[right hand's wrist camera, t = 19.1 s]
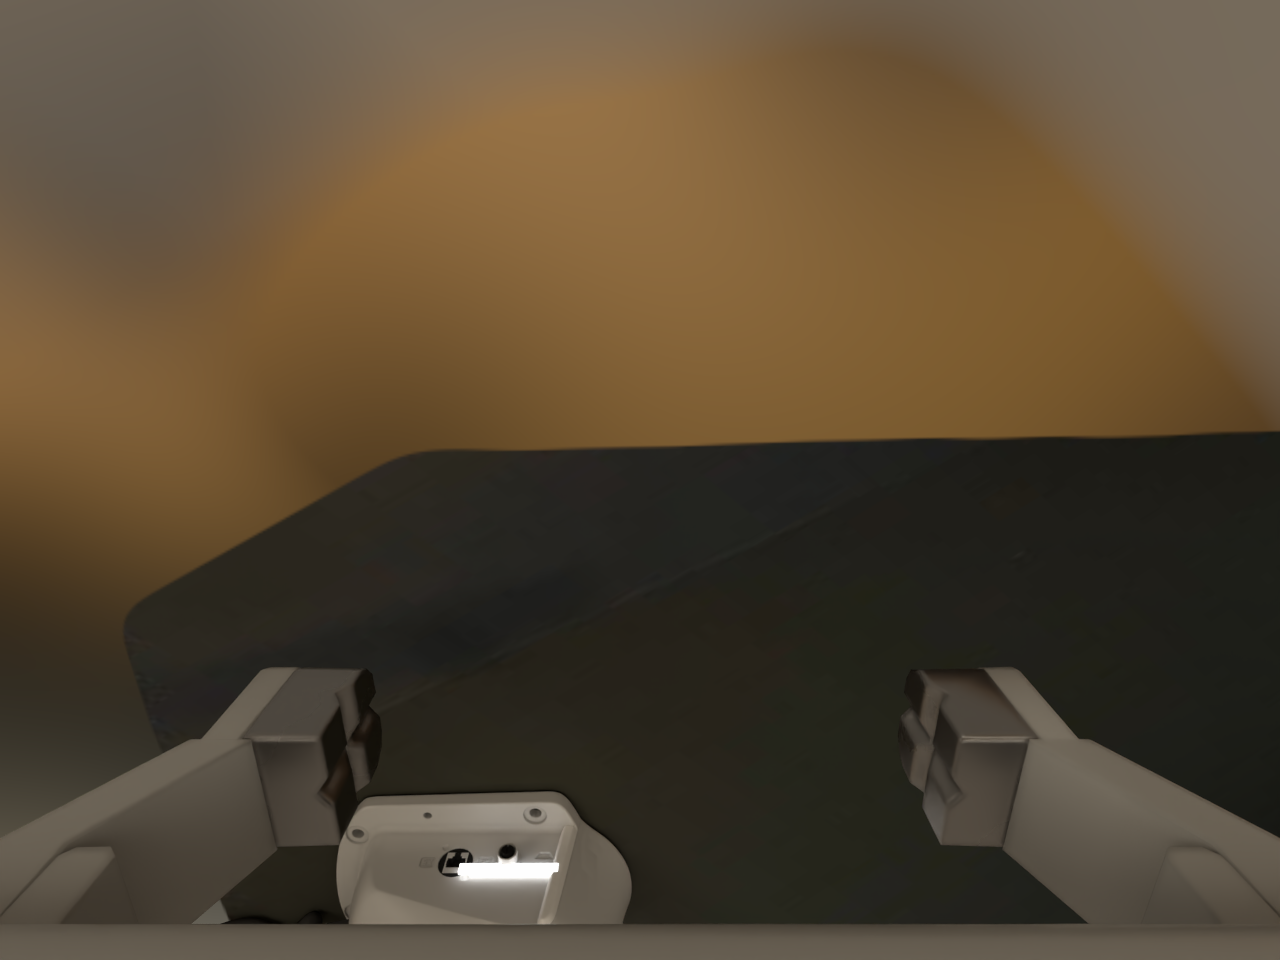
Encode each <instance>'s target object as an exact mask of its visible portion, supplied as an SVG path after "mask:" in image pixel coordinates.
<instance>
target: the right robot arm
mask: <svg viewBox="0 0 1280 960" xmlns="http://www.w3.org/2000/svg"><path fill="white" fill-rule="evenodd" d="M375 693H376V691H375V686H374V681H373V676H372V673H371V672H369V671H368V670H367V669H354V668H308V667H303V668H298V667H269V668H267V669H264V670H261V671H260V672H259V673H258V674H257V675H256V677H255V678H254V679H253V680H252V681H251V682H250V683H249V685H248V686H247V687H246V688H245V689H244V690H243V692H242V693H241V694H240V695H239V696H238V697H237V699H236V700H235V701H234V702H233V703H232V704H231V705H230V707H229V708H228V709H227V710H226V711H225V712H224V714H223V715H222V716H221V717H220V718H219V719H218V720H217V722H216V723H215V724H214V725H213V726H212V727H211V729H210V730H209V731H208V732H207V733H206V734H205V736H204V737H203V738H202V739H190V740H188V741H186V742H184V743H182V744H180V745H178V746H177V747H175V748H173V749H171V750H169V751H167V752H165V753H163V754H161V755H159V756H157V757H155V758H153V759H151V760H150V761H148V762H146V763H144V764H142V765H140V766H138V767H136V768H134V769H132V770H130V771H128V772H126V773H124V774H123V775H121V776H119V777H117V778H115V779H113V780H111V781H109V782H107V783H105V784H103V785H101V786H99V787H97V788H96V789H94V790H92V791H90V792H88V793H86V794H84V795H82V796H80V797H78V798H76V799H74V800H72V801H70V802H69V803H67V804H65V805H63V806H61V807H59V808H57V809H55V810H53V811H51V812H49V813H47V814H45V815H43V816H42V817H40V818H38V819H36V820H34V821H32V822H30V823H28V824H26V825H24V826H22V827H20V828H18V829H16V830H14V831H13V832H11V833H9V834H7V835H5V836H3V837H1V838H0V960H1280V838H1279V837H1277V836H1275V835H1273V834H1271V833H1269V832H1267V831H1265V830H1263V829H1261V828H1259V827H1257V826H1255V825H1254V824H1252V823H1250V822H1248V821H1246V820H1244V819H1242V818H1240V817H1238V816H1236V815H1234V814H1232V813H1230V812H1228V811H1227V810H1225V809H1223V808H1221V807H1219V806H1217V805H1215V804H1213V803H1211V802H1209V801H1207V800H1205V799H1203V798H1202V797H1200V796H1198V795H1196V794H1194V793H1192V792H1190V791H1188V790H1186V789H1184V788H1182V787H1180V786H1178V785H1177V784H1175V783H1173V782H1171V781H1169V780H1167V779H1165V778H1163V777H1161V776H1159V775H1157V774H1155V773H1153V772H1152V771H1150V770H1148V769H1146V768H1144V767H1142V766H1140V765H1138V764H1136V763H1134V762H1132V761H1130V760H1128V759H1126V758H1125V757H1123V756H1121V755H1119V754H1117V753H1115V752H1113V751H1111V750H1109V749H1107V748H1105V747H1103V746H1101V745H1100V744H1098V743H1096V742H1094V741H1092V740H1090V739H1078V738H1077V737H1076V736H1075V734H1074V733H1073V732H1072V731H1071V730H1070V729H1069V727H1068V726H1067V725H1066V724H1065V723H1064V722H1063V721H1062V719H1061V718H1060V717H1059V716H1058V715H1057V714H1056V712H1055V711H1054V710H1053V709H1052V708H1051V707H1050V706H1049V704H1048V703H1047V702H1046V701H1045V700H1044V699H1043V697H1042V696H1041V695H1040V694H1039V693H1038V692H1037V690H1036V689H1035V688H1034V687H1033V686H1032V685H1031V684H1030V682H1029V681H1028V680H1027V679H1026V678H1025V677H1024V675H1023V674H1022V673H1021V672H1020V671H1019V670H1017V669H1015V668H1013V667H990V668H977V669H915V670H910V672H909V674H908V676H907V679H906V684H905V690H904V693H905V695H906V697H907V699H908V700H909V702H910V704H911V707H910V708H909V709H908V710H907V711H906V712H905V713H904V714H903V715H902V716H901V717H900V723H899V731H898V742H899V752H900V757H901V761H902V764H903V768H904V770H905V772H906V775H907V777H908V779H909V781H910V783H912V784H913V785H915V786H916V787H917V788H919V789H920V790H921V791H923V792H924V797H923V803H922V808H923V810H924V812H925V814H926V816H927V818H928V820H929V822H930V824H931V826H932V828H933V830H934V832H935V834H936V836H937V838H938V840H939V842H940V844H941V845H963V846H998V847H1003V850H1004V851H1005V852H1006V853H1007V854H1008V855H1010V856H1011V857H1012V858H1013V859H1014V860H1015V861H1017V862H1018V863H1019V864H1020V865H1021V866H1022V867H1024V868H1025V869H1026V870H1027V871H1028V872H1029V873H1031V874H1032V875H1033V876H1034V877H1035V878H1036V879H1038V880H1039V881H1040V882H1041V883H1042V884H1043V885H1045V886H1046V887H1047V888H1048V889H1049V890H1050V891H1051V892H1053V893H1054V894H1055V895H1056V896H1057V897H1058V898H1060V899H1061V900H1062V901H1063V902H1064V903H1065V904H1067V905H1068V906H1069V907H1070V908H1071V909H1072V910H1074V911H1075V912H1076V913H1077V914H1078V915H1079V916H1081V917H1082V918H1083V919H1084V920H1085V921H1086V922H1088V923H1089V924H622V923H623V919H624V916H625V913H626V910H627V908H628V905H629V902H630V898H631V893H632V882H631V876H630V872H629V869H628V866H627V864H626V862H625V860H624V858H623V857H622V855H621V854H620V852H619V851H618V850H617V849H616V848H615V846H614V845H613V844H612V843H611V842H610V841H608V840H607V839H606V838H605V837H604V836H602V835H601V834H600V833H598V832H597V831H595V830H594V829H592V828H591V827H589V826H588V825H587V824H586V823H585V822H584V821H582V820H581V818H580V816H579V815H578V813H577V811H576V810H575V808H574V807H573V805H572V804H571V802H570V801H569V800H568V799H567V798H566V797H565V796H564V795H562V794H560V793H558V792H553V791H543V792H508V793H473V794H439V795H404V796H376V797H369V798H366V799H365V800H363V801H362V802H361V803H360V804H359V805H358V803H357V797H356V792H357V791H359V790H360V789H361V788H363V787H364V786H365V785H367V784H368V783H370V781H371V779H372V777H373V774H374V772H375V770H376V768H377V765H378V760H379V756H380V751H381V745H382V729H381V722H380V717H379V716H378V715H377V714H376V713H375V712H374V711H373V710H372V709H371V708H370V707H369V704H370V702H371V700H372V699H373V697H374V695H375ZM535 809H539V810H535ZM339 844H340V845H339ZM316 845H339V850H338V856H337V870H336V878H337V890H338V896H339V901H340V904H341V908H342V910H343V913H344V915H345V917H346V920H341V921H336V922H331V923H328V924H322V917H321V915H320V913H317V912H315V911H314V912H311V913H308V914H307V915H305V916H304V917H303V918H302V919H301V920H300V921H299V922H298V923H297V924H273V923H271V922H268V921H266V920H262V919H258V918H242V919H236V920H232V921H228V922H225V923H222V924H191V923H193V922H194V921H195V920H196V919H197V918H198V917H200V916H201V915H202V914H203V913H204V912H205V911H206V910H208V909H209V908H210V907H211V906H212V905H213V904H215V903H216V902H217V901H218V900H219V899H221V898H222V897H223V896H224V895H225V894H226V893H228V892H229V891H230V890H231V889H232V888H233V887H235V886H236V885H237V884H238V883H239V882H240V881H242V880H243V879H244V878H245V877H246V876H247V875H249V874H250V873H251V872H252V871H253V870H254V869H256V868H257V867H258V866H259V865H260V864H261V863H263V862H264V861H265V860H266V859H267V858H268V857H270V856H271V855H272V854H273V853H274V852H275V851H277V847H282V846H316Z"/></svg>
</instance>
